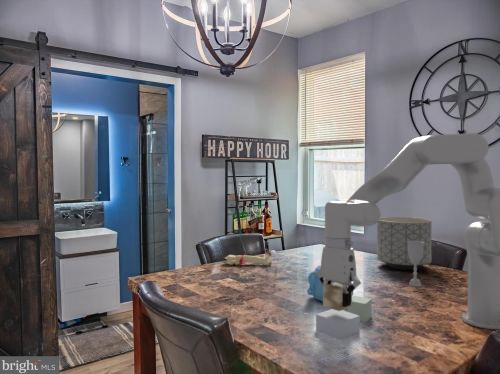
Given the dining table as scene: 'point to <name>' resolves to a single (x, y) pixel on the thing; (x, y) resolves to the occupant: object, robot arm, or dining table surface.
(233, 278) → the dining table surface
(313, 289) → the decorative pot
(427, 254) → the planter
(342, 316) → the base block
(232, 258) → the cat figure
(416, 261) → the chalice
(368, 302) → the sage cube
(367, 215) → the robot arm
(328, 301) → the maple cube
